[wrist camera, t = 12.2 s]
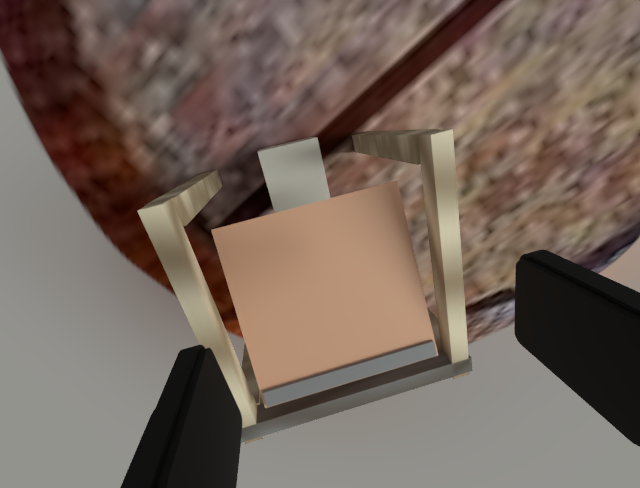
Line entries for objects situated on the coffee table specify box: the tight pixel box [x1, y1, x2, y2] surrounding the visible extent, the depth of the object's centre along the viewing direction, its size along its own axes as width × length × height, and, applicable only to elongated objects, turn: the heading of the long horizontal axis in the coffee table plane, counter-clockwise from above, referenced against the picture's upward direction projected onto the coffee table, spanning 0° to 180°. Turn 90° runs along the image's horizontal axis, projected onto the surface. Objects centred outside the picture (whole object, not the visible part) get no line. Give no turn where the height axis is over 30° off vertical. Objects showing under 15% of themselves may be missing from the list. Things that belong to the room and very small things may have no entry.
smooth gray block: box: [258, 137, 330, 213], centre depth 28 cm, size 5×5×6 cm
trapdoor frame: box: [137, 129, 472, 443], centre depth 26 cm, size 17×17×16 cm
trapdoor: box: [211, 181, 438, 408], centre depth 20 cm, size 12×12×1 cm
